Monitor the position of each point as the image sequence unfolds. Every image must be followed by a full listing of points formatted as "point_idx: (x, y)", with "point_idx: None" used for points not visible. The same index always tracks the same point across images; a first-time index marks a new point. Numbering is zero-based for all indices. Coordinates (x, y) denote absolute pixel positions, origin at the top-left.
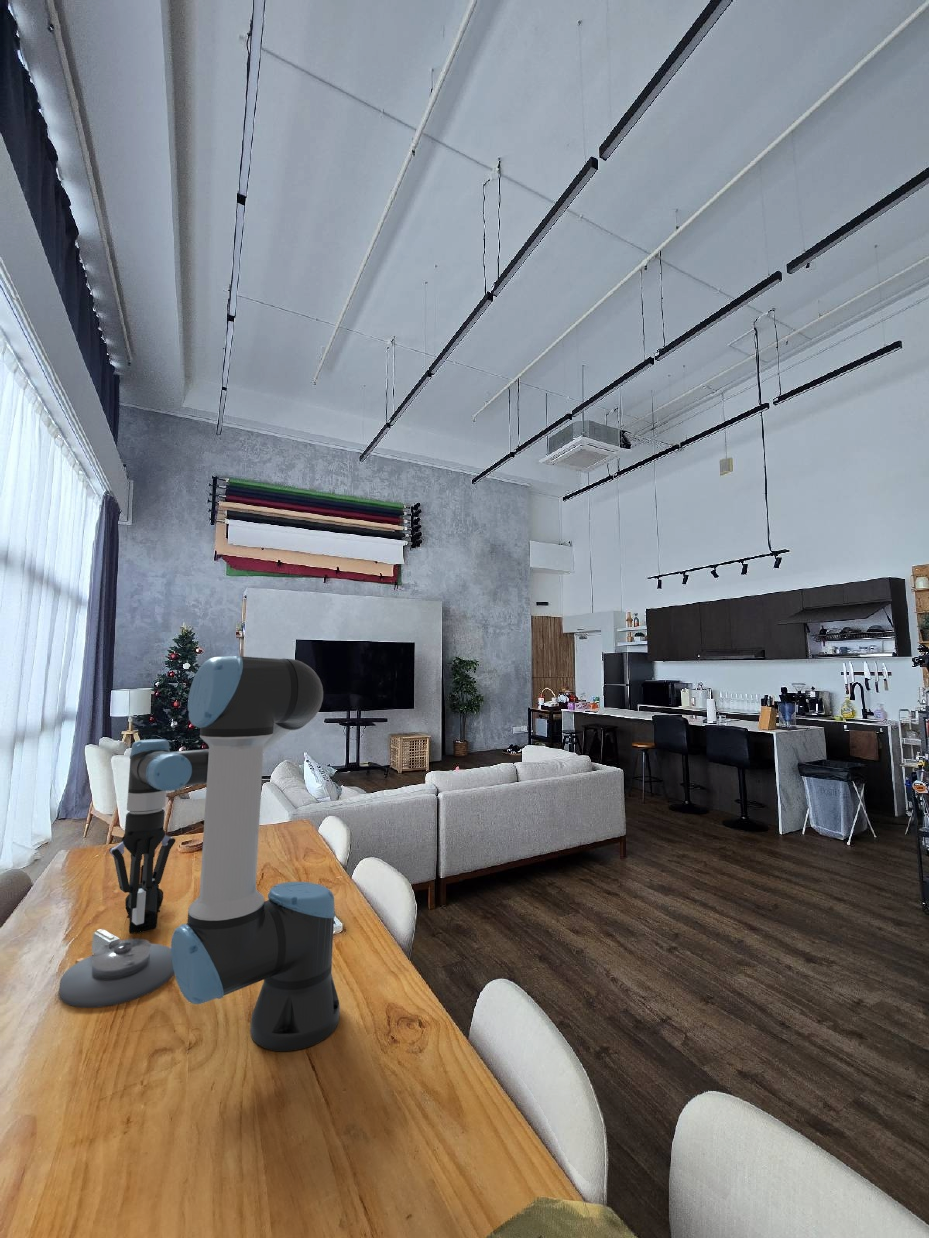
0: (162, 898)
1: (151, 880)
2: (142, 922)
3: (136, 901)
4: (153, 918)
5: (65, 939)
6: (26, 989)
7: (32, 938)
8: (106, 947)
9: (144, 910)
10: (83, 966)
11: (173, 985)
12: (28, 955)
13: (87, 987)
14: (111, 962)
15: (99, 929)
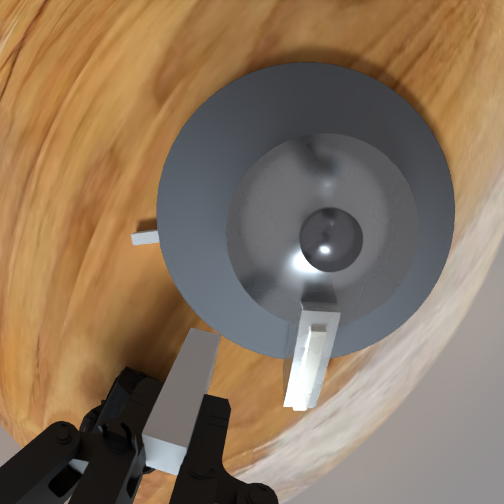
0: (86, 416)
1: (90, 468)
2: (195, 330)
3: (198, 417)
4: (127, 375)
5: (265, 455)
6: (425, 347)
7: (291, 478)
8: (341, 308)
9: (175, 360)
10: (361, 322)
11: (254, 53)
12: (333, 447)
13: (425, 200)
14: (401, 182)
15: (297, 409)
